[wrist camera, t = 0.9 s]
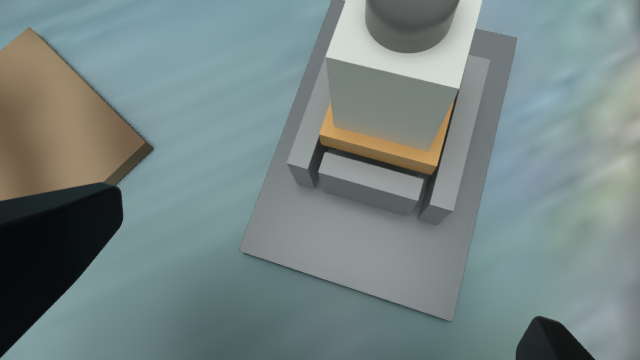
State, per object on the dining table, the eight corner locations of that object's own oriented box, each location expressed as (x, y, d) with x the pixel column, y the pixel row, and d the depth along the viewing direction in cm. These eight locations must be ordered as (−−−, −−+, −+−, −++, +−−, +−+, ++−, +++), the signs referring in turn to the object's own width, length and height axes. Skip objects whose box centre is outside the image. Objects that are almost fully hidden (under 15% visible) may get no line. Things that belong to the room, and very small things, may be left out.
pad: (-9, 303, 22) (-26, 303, 21) (-111, 165, 25) (-130, 159, 24) (153, 148, 24) (145, 142, 23) (40, 36, 27) (29, 27, 26)
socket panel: (447, 320, 20) (473, 326, 16) (243, 252, 22) (216, 241, 17) (511, 48, 24) (545, -7, 20) (333, 9, 26) (328, -49, 21)
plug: (418, 195, 21) (497, 70, 9) (326, 168, 22) (294, 23, 10) (441, 110, 22) (536, -94, 11) (353, 87, 23) (352, -124, 11)
